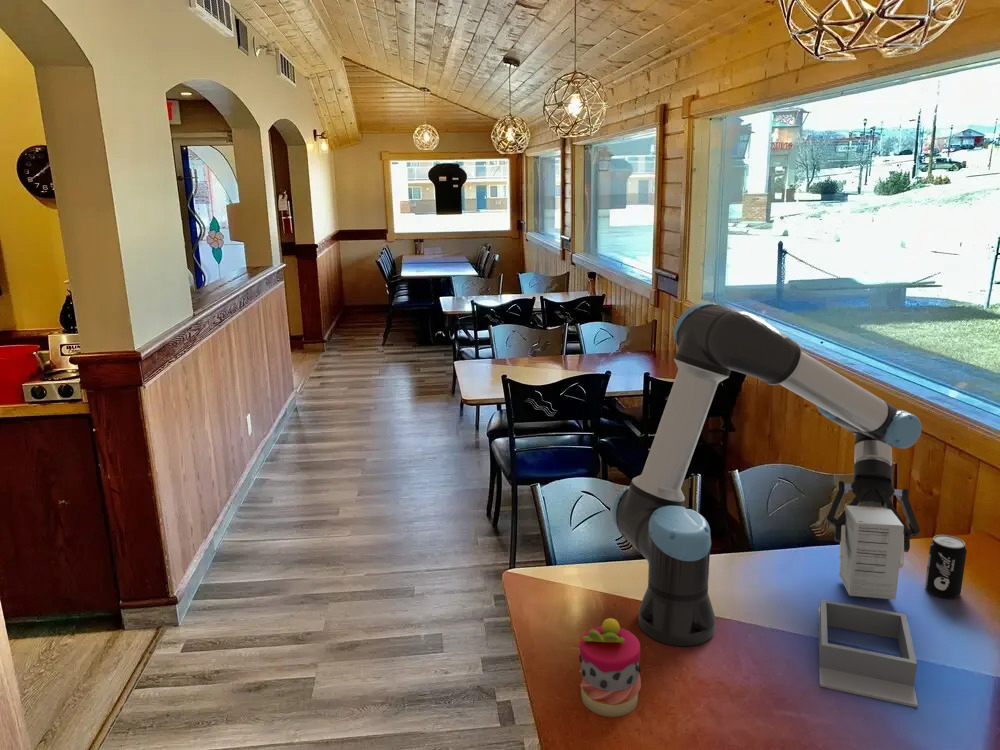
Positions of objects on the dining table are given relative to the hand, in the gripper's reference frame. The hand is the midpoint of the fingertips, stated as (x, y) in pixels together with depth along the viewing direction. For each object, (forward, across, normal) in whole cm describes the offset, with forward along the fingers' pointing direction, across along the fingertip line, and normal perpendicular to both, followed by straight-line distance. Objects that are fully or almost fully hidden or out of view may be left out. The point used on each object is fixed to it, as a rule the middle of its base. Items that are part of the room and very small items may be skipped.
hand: (871, 561), depth 148 cm
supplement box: (+3, 0, -8) cm, 8 cm away
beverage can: (0, -15, -13) cm, 20 cm away
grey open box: (+21, +2, +8) cm, 22 cm away
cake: (+41, +43, +28) cm, 66 cm away
